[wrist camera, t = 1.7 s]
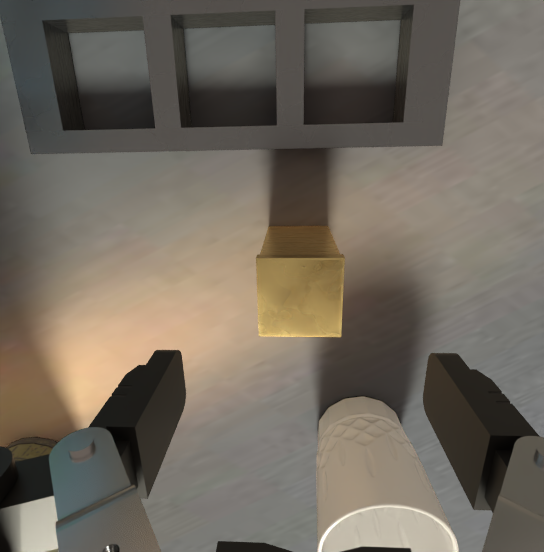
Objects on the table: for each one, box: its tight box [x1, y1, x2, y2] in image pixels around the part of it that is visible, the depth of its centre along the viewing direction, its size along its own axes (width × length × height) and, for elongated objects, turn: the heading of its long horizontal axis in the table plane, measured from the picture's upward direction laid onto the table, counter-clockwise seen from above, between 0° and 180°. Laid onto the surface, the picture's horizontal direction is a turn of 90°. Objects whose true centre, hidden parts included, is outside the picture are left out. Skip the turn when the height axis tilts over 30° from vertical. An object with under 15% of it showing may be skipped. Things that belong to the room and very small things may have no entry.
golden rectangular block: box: [256, 226, 345, 337], centre depth 22 cm, size 4×4×8 cm
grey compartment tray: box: [0, 0, 460, 154], centre depth 21 cm, size 24×8×2 cm, turn 91°
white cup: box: [316, 396, 458, 552], centre depth 26 cm, size 8×8×10 cm
